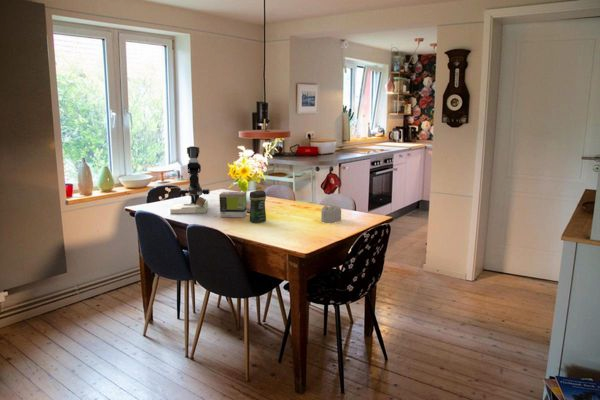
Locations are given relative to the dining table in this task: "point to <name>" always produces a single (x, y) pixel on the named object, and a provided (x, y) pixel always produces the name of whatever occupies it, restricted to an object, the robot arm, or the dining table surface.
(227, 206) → the retro computer monitor
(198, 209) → the trap board
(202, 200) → the walnut block
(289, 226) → the dining table surface
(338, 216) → the lumpy-topped squat cylinder
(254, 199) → the coffee jar
